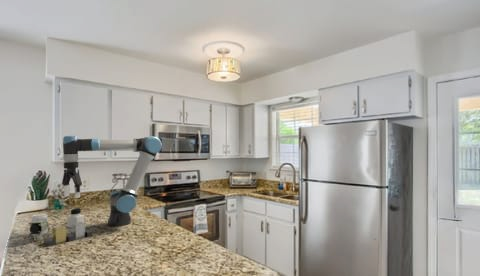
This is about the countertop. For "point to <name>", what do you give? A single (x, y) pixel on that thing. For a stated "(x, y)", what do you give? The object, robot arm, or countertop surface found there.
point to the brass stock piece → (59, 234)
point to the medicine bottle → (74, 217)
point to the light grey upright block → (78, 229)
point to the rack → (69, 237)
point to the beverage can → (40, 216)
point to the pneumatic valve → (38, 228)
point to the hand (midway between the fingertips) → (72, 196)
